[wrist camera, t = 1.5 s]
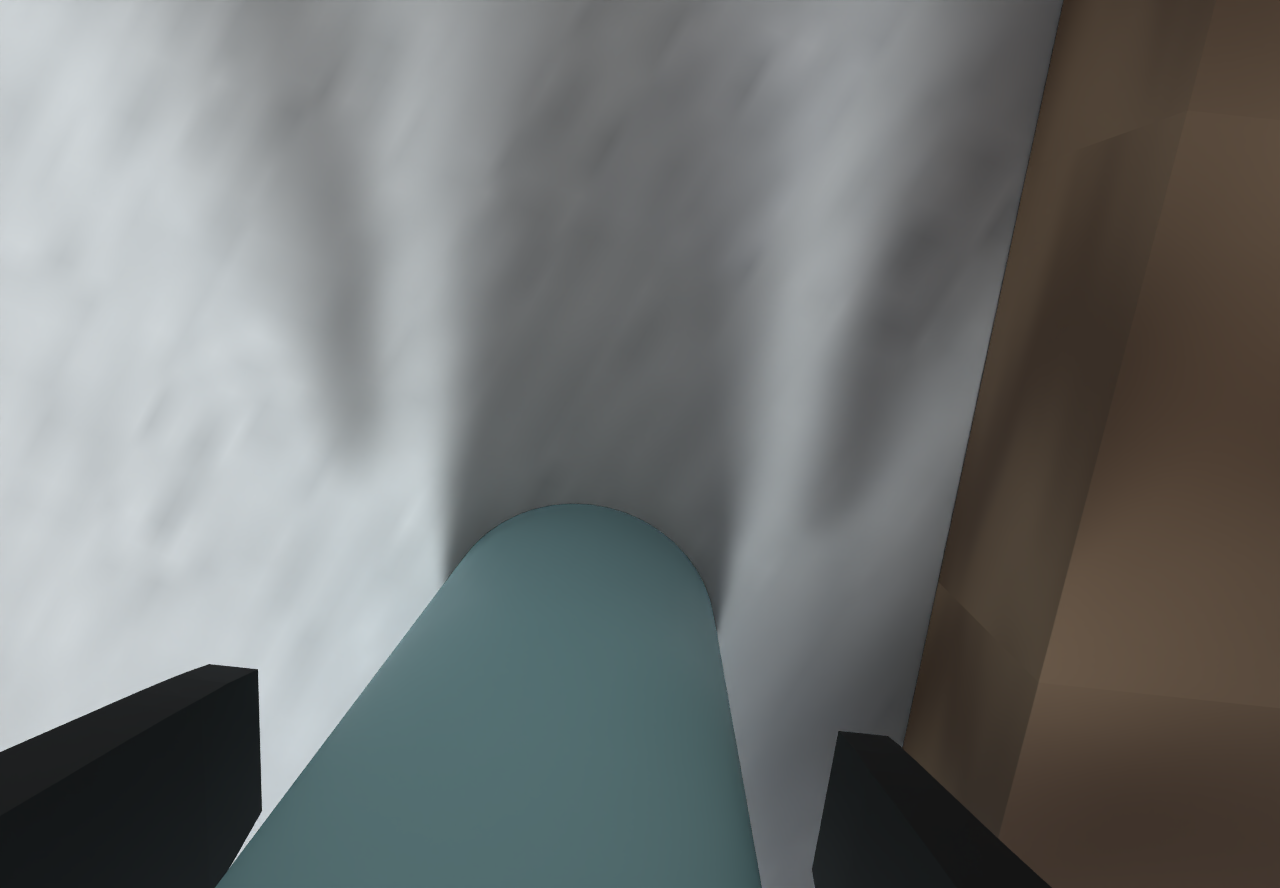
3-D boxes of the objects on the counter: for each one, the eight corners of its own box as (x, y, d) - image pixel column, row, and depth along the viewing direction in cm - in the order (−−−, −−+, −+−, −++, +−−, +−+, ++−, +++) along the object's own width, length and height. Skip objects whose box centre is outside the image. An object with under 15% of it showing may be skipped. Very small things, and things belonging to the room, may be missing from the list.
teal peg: (697, 767, 12) (770, 1630, 4) (437, 739, 12) (34, 1544, 4) (731, 519, 11) (909, 1053, 3) (447, 489, 11) (-59, 945, 3)
